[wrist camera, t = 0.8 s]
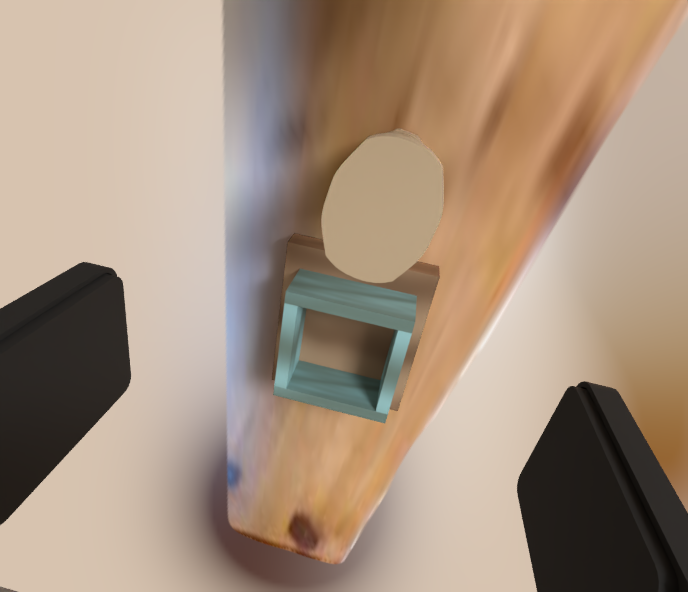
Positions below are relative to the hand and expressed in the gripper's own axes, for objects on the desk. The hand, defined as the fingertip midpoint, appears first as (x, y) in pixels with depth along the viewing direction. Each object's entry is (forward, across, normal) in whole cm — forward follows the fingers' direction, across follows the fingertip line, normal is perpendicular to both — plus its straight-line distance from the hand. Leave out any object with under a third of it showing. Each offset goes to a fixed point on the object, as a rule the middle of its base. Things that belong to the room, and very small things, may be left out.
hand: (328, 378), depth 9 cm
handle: (+26, 0, 0) cm, 26 cm away
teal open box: (+26, +1, +15) cm, 30 cm away
